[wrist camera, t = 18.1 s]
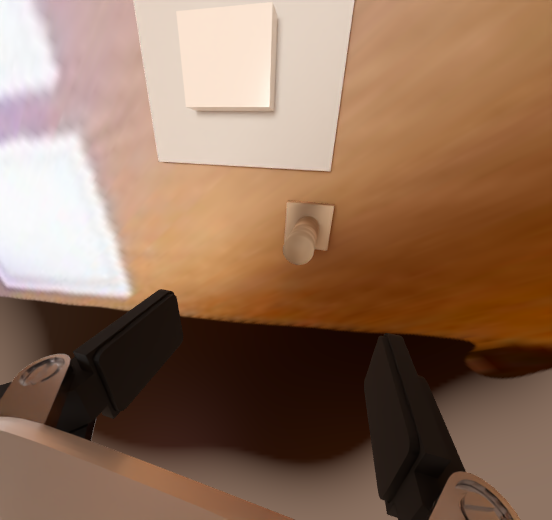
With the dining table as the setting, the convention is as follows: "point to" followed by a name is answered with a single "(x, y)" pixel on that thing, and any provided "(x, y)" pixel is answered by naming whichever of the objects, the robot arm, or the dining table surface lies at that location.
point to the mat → (252, 124)
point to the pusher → (306, 230)
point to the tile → (229, 57)
